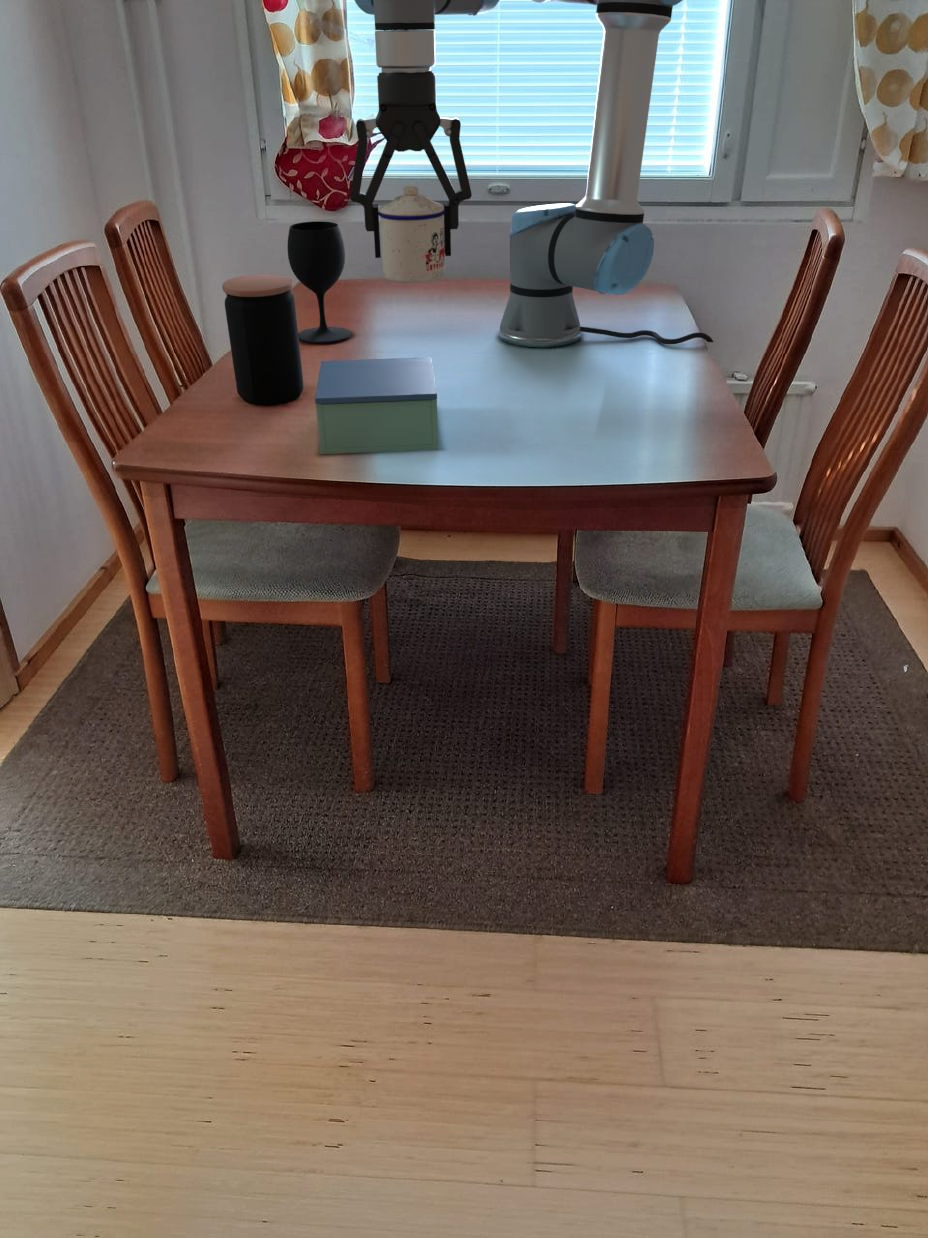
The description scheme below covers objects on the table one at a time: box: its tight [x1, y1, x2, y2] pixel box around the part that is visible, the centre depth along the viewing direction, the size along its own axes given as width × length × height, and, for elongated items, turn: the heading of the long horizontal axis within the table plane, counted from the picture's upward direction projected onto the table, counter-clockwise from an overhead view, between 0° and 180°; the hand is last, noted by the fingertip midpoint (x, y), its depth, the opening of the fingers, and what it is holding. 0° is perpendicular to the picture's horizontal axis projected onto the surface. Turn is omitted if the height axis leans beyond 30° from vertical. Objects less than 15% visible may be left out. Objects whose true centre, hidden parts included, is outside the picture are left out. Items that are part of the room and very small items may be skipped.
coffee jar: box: [221, 273, 305, 407], centre depth 151 cm, size 11×11×18 cm
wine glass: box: [287, 220, 352, 345], centre depth 178 cm, size 10×10×20 cm
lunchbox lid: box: [314, 356, 438, 405], centre depth 138 cm, size 17×17×1 cm
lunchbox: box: [315, 398, 439, 455], centre depth 141 cm, size 17×17×7 cm
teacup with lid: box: [378, 185, 446, 284], centre depth 133 cm, size 12×9×12 cm
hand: (412, 254), depth 134 cm, fingers closed on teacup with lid, 9 cm apart
